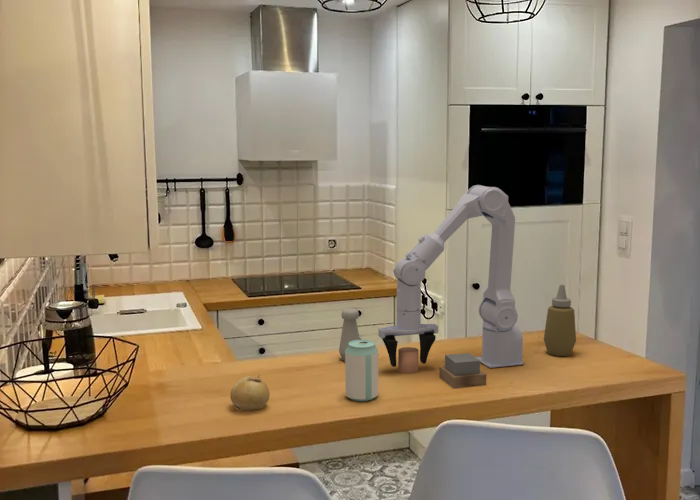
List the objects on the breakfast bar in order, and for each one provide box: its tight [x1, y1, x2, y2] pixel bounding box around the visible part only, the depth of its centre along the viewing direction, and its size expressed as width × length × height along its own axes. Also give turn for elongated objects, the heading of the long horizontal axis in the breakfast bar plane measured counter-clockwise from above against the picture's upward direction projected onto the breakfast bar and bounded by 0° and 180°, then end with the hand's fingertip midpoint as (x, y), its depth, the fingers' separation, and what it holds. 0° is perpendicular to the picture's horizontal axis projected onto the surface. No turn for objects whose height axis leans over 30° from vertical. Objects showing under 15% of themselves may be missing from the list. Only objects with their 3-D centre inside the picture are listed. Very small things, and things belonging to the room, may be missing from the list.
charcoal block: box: [444, 352, 481, 376], centre depth 163 cm, size 6×6×3 cm
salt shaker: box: [338, 307, 361, 362], centre depth 179 cm, size 6×6×13 cm
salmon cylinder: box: [397, 346, 419, 374], centre depth 172 cm, size 5×5×5 cm
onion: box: [230, 373, 270, 412], centre depth 148 cm, size 8×8×7 cm
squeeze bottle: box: [543, 284, 577, 357], centre depth 183 cm, size 8×8×18 cm
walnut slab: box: [438, 365, 487, 389], centre depth 164 cm, size 8×8×3 cm
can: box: [344, 339, 379, 402], centre depth 153 cm, size 7×7×12 cm
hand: (408, 364), depth 172 cm, fingers open, 7 cm apart
